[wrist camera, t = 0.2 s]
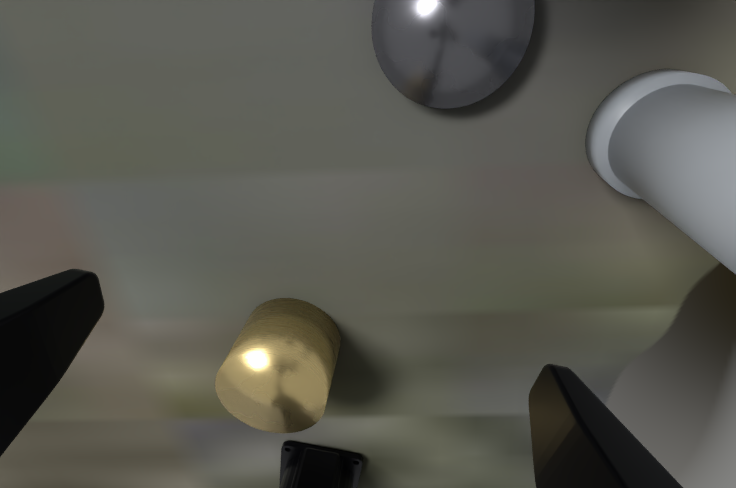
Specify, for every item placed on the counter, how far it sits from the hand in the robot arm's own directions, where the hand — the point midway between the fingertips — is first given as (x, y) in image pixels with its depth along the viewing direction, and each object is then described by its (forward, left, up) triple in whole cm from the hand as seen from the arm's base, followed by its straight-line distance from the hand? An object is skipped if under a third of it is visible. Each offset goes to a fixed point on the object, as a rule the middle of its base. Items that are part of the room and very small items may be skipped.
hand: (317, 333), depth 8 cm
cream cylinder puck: (-14, +4, -14) cm, 20 cm away
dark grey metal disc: (+6, -2, -14) cm, 16 cm away
